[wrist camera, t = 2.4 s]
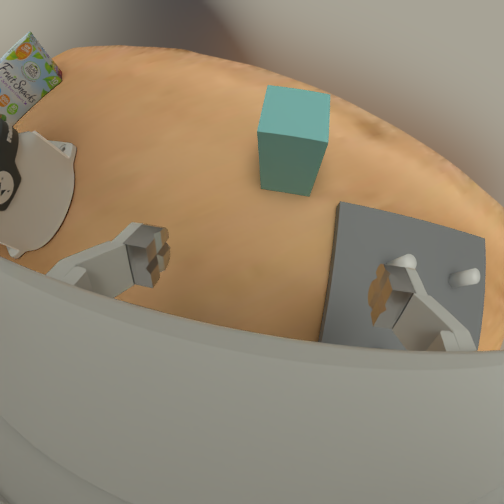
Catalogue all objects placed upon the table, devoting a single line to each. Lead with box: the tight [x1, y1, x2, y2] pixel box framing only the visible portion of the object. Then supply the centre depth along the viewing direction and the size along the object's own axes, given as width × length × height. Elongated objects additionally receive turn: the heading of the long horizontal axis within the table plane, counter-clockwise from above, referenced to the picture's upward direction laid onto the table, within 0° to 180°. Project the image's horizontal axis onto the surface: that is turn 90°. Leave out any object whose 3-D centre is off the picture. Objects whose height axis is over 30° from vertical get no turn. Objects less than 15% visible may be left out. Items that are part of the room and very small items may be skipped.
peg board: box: [318, 201, 486, 350], centre depth 21 cm, size 20×20×6 cm
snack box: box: [0, 32, 62, 126], centre depth 28 cm, size 21×6×15 cm, turn 121°
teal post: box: [257, 85, 330, 196], centre depth 23 cm, size 5×5×10 cm
